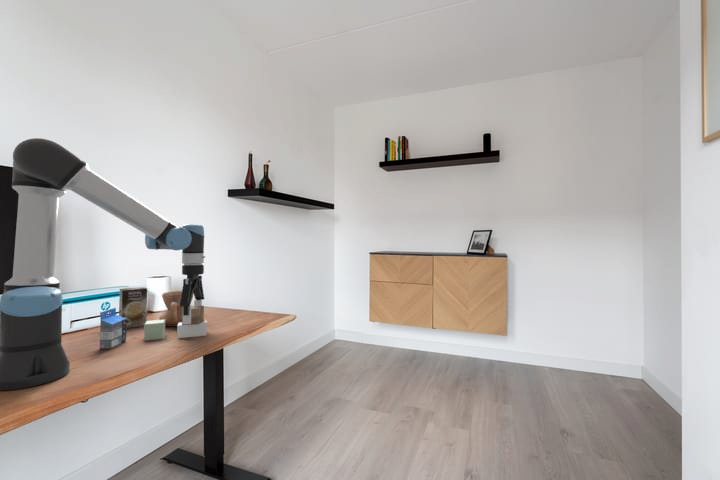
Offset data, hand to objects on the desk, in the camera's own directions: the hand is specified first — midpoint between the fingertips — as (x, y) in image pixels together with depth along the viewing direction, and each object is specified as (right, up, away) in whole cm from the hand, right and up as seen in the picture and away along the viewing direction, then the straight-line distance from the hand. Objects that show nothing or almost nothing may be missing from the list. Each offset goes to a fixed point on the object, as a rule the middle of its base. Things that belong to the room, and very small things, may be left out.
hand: (192, 319), depth 128 cm
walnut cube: (0, -1, 0) cm, 1 cm away
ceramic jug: (-15, -6, +17) cm, 23 cm away
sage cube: (-13, -6, -3) cm, 14 cm away
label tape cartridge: (-21, -6, -13) cm, 25 cm away
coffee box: (-33, -6, +14) cm, 36 cm away
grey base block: (0, -6, 0) cm, 6 cm away
